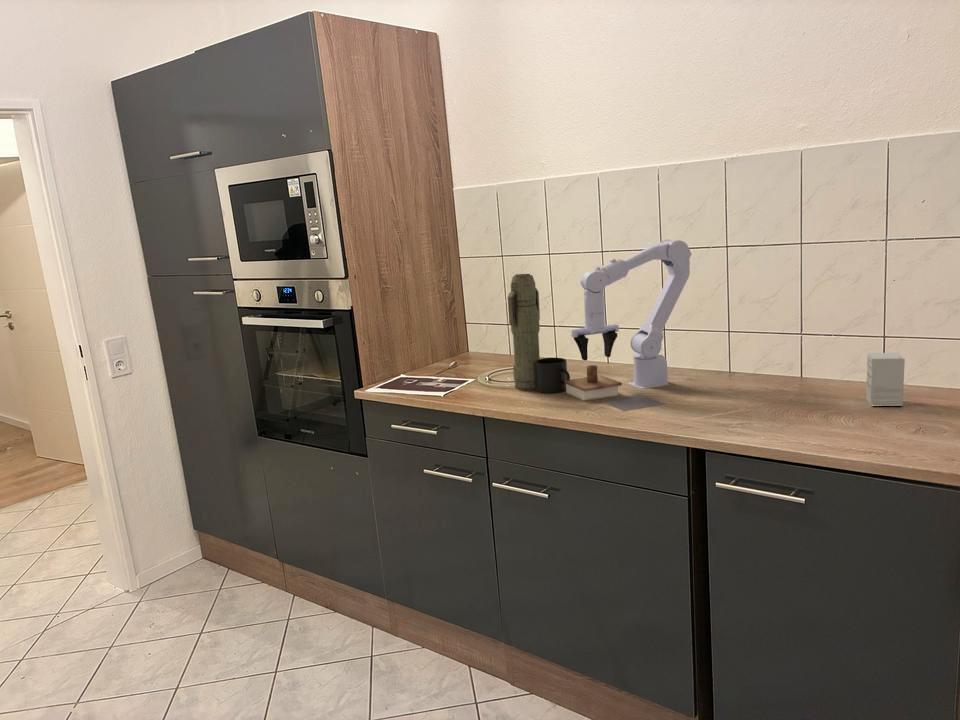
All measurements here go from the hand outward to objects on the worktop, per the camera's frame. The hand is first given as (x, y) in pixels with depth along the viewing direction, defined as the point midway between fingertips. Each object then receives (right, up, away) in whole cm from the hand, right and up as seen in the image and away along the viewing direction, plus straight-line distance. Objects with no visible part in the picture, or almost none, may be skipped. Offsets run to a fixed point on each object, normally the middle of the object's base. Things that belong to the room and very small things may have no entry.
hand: (596, 358), depth 217 cm
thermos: (-19, -9, +13) cm, 25 cm away
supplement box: (+68, -12, -30) cm, 76 cm away
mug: (-11, -10, +6) cm, 16 cm away
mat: (+8, -13, -14) cm, 21 cm away
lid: (-2, -8, -4) cm, 9 cm away
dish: (-2, -11, -3) cm, 11 cm away
